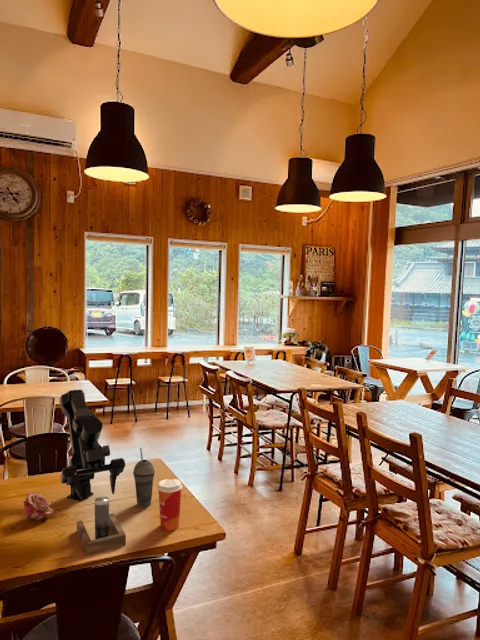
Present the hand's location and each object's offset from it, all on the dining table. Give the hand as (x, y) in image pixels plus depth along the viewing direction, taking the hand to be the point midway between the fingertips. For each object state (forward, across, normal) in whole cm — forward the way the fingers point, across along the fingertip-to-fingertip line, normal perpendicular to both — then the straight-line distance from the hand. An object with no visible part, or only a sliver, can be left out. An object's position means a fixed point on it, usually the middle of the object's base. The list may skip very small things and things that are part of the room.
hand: (98, 496), depth 144 cm
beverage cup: (0, +18, +16) cm, 24 cm away
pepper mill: (+11, 0, +5) cm, 12 cm away
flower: (-5, -15, +21) cm, 26 cm away
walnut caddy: (+10, 0, +6) cm, 12 cm away
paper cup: (+13, +20, +4) cm, 24 cm away
